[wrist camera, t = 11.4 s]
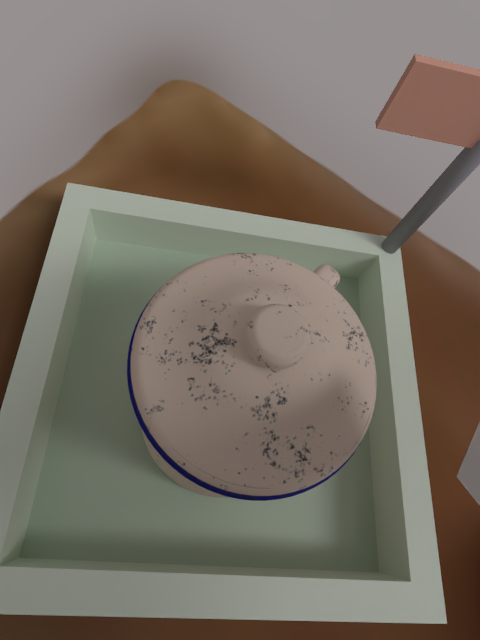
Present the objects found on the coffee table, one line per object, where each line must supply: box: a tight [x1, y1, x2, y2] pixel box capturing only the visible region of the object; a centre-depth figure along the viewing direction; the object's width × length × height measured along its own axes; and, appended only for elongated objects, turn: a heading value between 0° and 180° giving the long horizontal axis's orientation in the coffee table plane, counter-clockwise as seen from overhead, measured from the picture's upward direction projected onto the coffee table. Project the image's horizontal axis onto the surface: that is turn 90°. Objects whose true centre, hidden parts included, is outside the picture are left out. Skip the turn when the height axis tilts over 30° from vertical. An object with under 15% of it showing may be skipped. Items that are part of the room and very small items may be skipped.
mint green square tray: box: [0, 54, 480, 624], centre depth 17 cm, size 20×20×14 cm
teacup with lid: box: [127, 253, 377, 501], centre depth 18 cm, size 12×9×12 cm
